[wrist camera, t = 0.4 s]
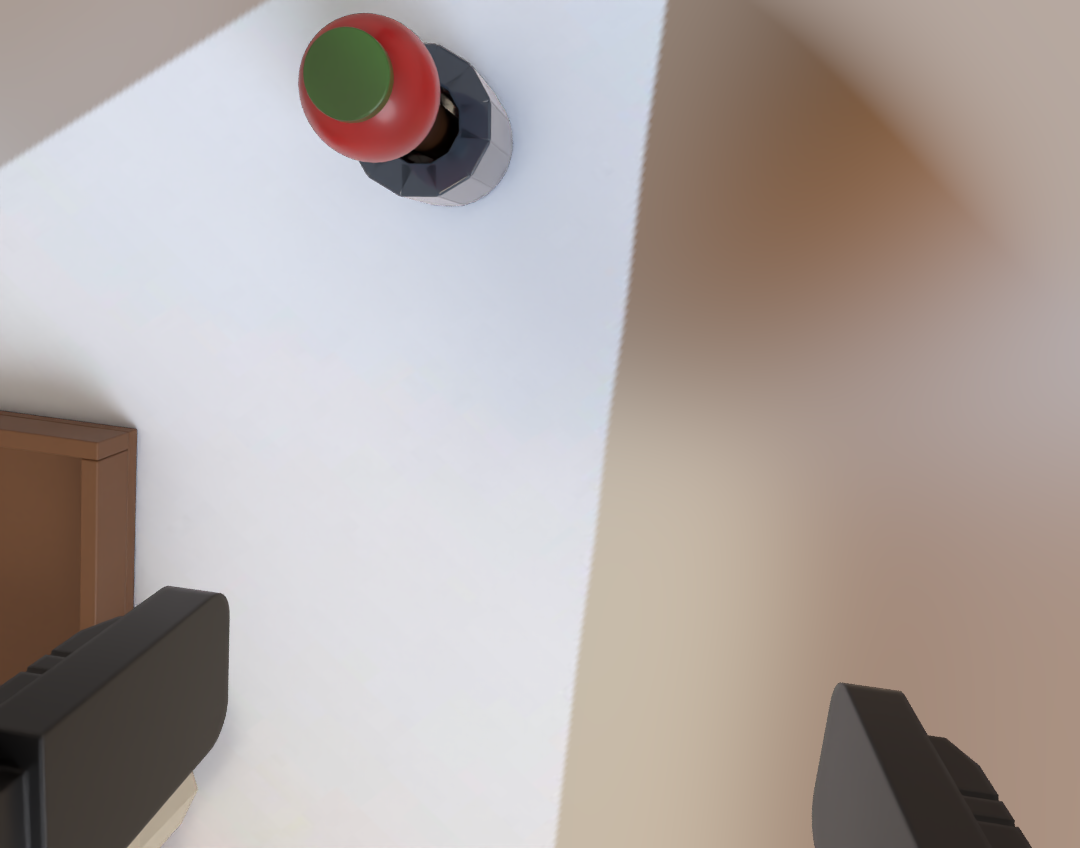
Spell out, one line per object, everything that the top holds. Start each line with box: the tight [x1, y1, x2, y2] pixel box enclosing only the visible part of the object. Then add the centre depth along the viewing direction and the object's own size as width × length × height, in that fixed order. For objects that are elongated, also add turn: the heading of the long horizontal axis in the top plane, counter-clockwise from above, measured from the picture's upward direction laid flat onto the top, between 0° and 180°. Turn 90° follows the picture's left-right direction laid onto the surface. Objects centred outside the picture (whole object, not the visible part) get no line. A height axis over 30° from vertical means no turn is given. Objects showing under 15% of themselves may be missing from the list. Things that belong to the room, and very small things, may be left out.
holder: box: [359, 43, 513, 206], centre depth 28 cm, size 4×4×5 cm
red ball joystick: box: [298, 13, 458, 163], centre depth 25 cm, size 3×3×11 cm
